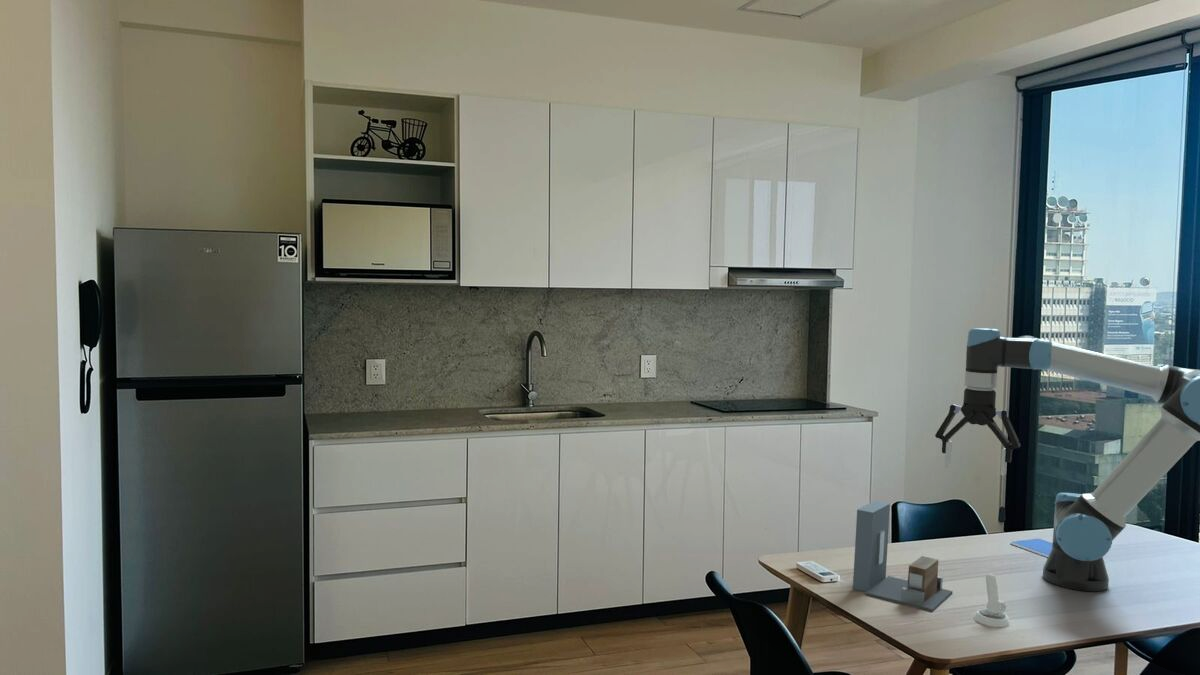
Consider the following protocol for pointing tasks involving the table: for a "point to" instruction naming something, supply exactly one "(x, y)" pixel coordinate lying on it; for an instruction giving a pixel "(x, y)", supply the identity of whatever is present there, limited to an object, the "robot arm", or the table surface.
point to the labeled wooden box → (923, 576)
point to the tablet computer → (1035, 546)
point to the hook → (992, 606)
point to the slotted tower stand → (884, 562)
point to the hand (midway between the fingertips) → (974, 470)
